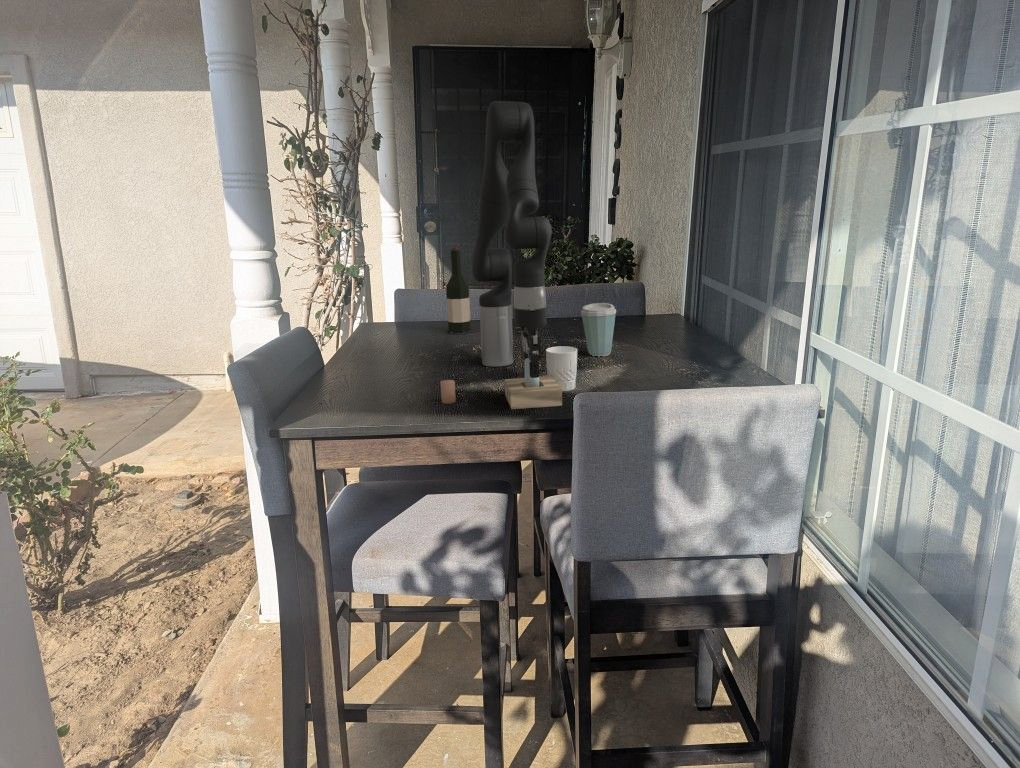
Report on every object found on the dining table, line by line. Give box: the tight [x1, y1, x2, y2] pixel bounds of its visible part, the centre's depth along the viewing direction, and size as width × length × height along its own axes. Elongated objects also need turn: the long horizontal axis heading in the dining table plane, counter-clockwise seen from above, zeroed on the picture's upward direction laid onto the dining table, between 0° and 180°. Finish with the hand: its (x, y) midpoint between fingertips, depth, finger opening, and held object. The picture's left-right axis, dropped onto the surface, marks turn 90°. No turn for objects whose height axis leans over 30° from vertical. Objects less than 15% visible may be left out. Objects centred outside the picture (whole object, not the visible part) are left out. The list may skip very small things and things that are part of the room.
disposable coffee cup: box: [580, 302, 617, 358], centre depth 213 cm, size 11×11×15 cm
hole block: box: [504, 376, 563, 410], centre depth 171 cm, size 12×12×4 cm
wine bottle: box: [445, 247, 472, 333], centre depth 254 cm, size 8×8×30 cm
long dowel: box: [523, 358, 540, 388], centre depth 170 cm, size 3×3×10 cm
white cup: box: [545, 345, 578, 392], centre depth 179 cm, size 8×8×10 cm
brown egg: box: [440, 379, 457, 405], centre depth 172 cm, size 3×3×5 cm
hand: (531, 372), depth 169 cm, fingers open, 8 cm apart
